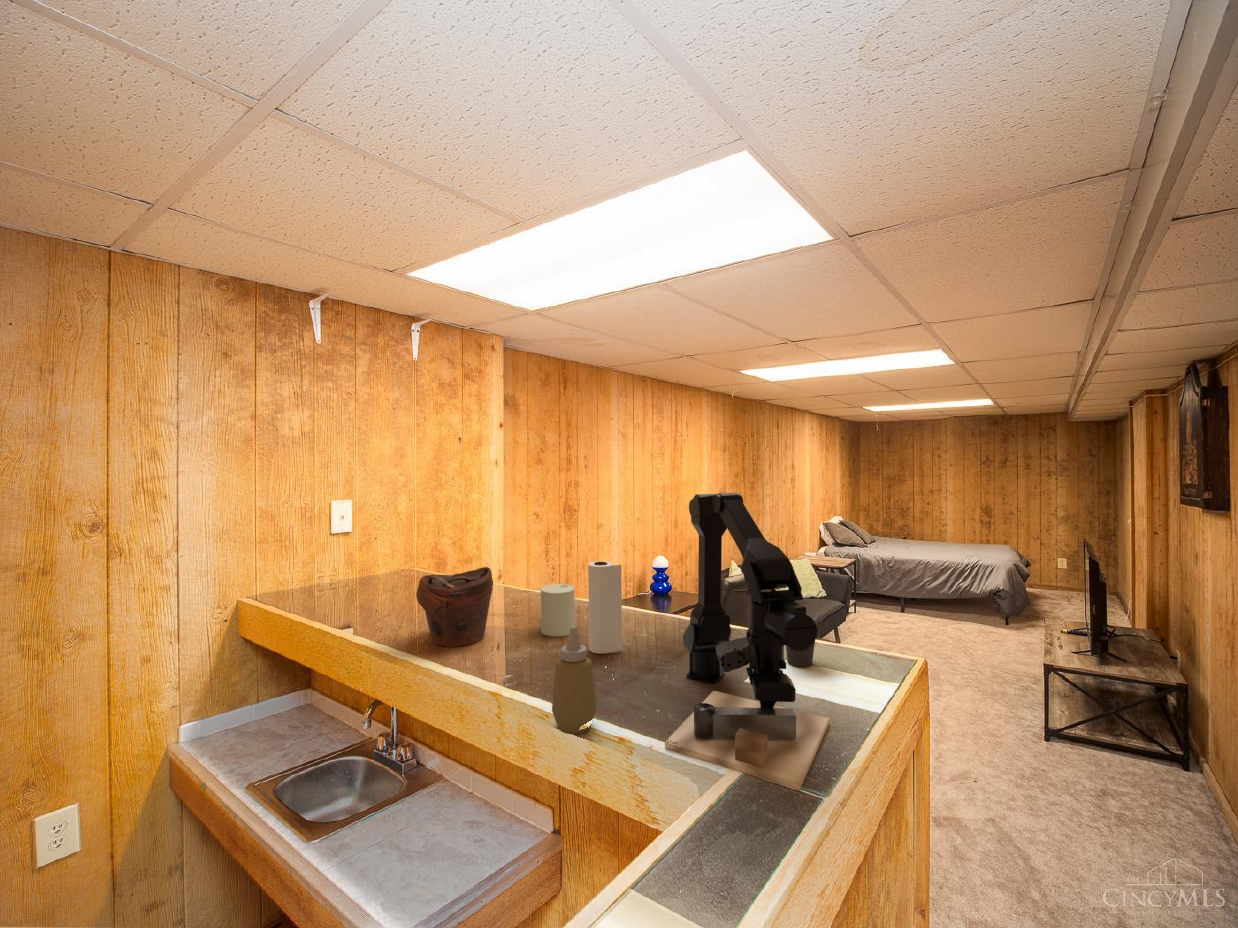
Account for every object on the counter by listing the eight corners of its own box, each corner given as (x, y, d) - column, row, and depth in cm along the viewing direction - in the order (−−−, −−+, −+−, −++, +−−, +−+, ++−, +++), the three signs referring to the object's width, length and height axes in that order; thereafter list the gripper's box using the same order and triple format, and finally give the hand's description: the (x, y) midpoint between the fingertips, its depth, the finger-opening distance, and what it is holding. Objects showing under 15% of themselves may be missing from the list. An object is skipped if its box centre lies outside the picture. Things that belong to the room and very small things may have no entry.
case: (400, 643, 143) (400, 573, 142) (463, 622, 159) (462, 559, 158) (448, 659, 133) (447, 584, 132) (508, 635, 149) (509, 568, 148)
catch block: (735, 759, 89) (735, 734, 89) (740, 752, 91) (740, 728, 91) (762, 768, 87) (762, 742, 86) (767, 760, 89) (767, 735, 89)
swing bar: (694, 739, 94) (694, 713, 94) (692, 727, 98) (692, 703, 98) (796, 741, 93) (797, 714, 93) (791, 729, 97) (791, 704, 97)
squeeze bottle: (602, 734, 98) (601, 633, 98) (556, 742, 96) (554, 638, 95) (591, 713, 106) (590, 618, 105) (548, 719, 104) (547, 623, 103)
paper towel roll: (583, 649, 138) (583, 562, 137) (603, 643, 142) (602, 559, 141) (602, 658, 132) (601, 567, 131) (622, 651, 136) (621, 564, 135)
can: (582, 628, 153) (581, 584, 152) (561, 639, 145) (560, 593, 145) (555, 622, 158) (555, 580, 157) (533, 632, 150) (533, 588, 150)
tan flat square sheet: (664, 748, 94) (664, 742, 94) (713, 695, 113) (713, 690, 113) (799, 789, 83) (799, 783, 83) (828, 723, 102) (829, 718, 102)
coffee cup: (773, 660, 131) (773, 617, 130) (799, 654, 134) (800, 612, 134) (799, 673, 123) (800, 628, 123) (826, 666, 127) (827, 622, 127)
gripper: (715, 607, 106) (714, 687, 108) (724, 648, 88) (722, 744, 89) (775, 609, 105) (773, 690, 107) (797, 650, 87) (794, 747, 88)
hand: (765, 715), depth 98 cm, fingers closed
